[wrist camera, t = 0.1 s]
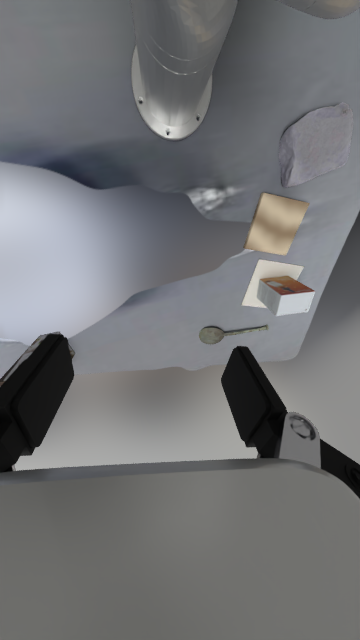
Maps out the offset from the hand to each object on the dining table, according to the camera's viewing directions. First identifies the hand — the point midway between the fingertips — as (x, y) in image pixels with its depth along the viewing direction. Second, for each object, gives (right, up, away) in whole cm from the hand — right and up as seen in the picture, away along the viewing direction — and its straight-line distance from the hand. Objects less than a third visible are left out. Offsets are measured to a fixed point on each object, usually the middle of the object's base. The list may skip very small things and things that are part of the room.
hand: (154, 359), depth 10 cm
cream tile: (+27, +12, +39) cm, 49 cm away
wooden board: (+23, +24, +31) cm, 46 cm away
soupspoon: (+18, -1, +47) cm, 51 cm away
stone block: (+26, +36, +25) cm, 51 cm away
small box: (+27, +12, +39) cm, 49 cm away
